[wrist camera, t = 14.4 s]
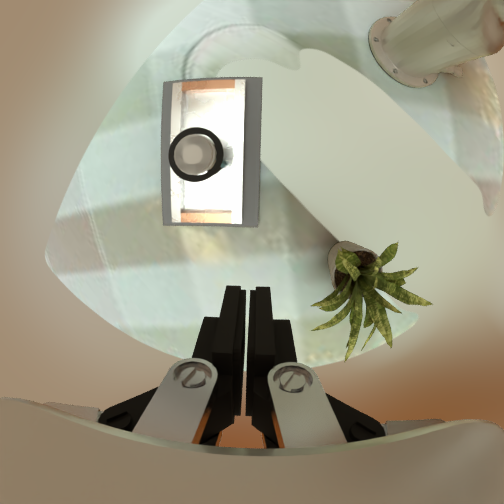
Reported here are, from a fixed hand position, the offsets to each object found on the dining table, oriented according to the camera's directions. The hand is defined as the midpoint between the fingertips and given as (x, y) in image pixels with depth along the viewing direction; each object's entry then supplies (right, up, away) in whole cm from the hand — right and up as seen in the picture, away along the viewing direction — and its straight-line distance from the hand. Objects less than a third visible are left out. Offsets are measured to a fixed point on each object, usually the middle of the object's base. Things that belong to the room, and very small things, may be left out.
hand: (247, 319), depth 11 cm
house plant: (+12, +2, +28) cm, 31 cm away
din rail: (-5, +16, +22) cm, 27 cm away
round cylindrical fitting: (-5, +15, +22) cm, 27 cm away
